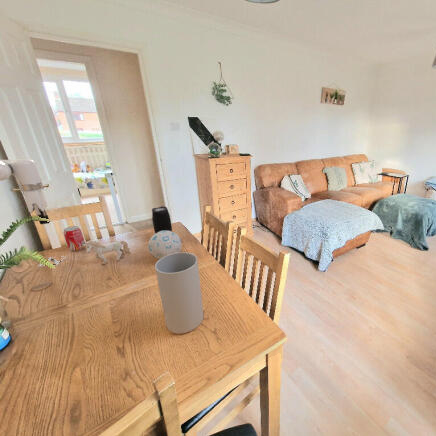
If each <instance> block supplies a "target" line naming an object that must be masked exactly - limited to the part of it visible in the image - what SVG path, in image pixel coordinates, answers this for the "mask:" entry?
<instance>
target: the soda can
mask: <svg viewBox="0 0 436 436" xmlns="http://www.w3.org/2000/svg"><path fill="white" fill-rule="evenodd" d="M62 233H63V237H64V240H65V243H66V247H67V248H68V250H69V251H71V252H78V251H81V250H84V248H79V247H83V246H84V245H82V244H85V243H86V241H85V238H84V235H83V231H82V229H80V227H79V226H77V225H74V226H72V225H71V226H68V227H65V228H64V229H63V232H62Z"/></svg>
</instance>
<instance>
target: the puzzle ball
mask: <svg viewBox="0 0 436 436" xmlns="http://www.w3.org/2000/svg"><path fill="white" fill-rule="evenodd" d="M182 243H183V242H182V239H181V237H180V236H179V235H178V234H177V233H176V232H175V231H173V230H172V231H160V232H158V233H155V232H154V234H153V235H152V236H151V237H150V238H149V241H148V244H147V249H148V253H149V254H150V255H151V256H152V257H153V258H154V259H157V260H160V259H161V258H163V257H165V256H167V255H170V254H173V253H180V252H181V250H182V245H183V244H182Z"/></svg>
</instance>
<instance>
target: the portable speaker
mask: <svg viewBox="0 0 436 436" xmlns="http://www.w3.org/2000/svg"><path fill="white" fill-rule="evenodd" d="M151 213H152V214H151V221H152V225H153V230H154V231H153V232H154V234H155V233H158V232H160V231H172V232H173V227H172V220H171V219H172V218H171V215H170V212H169V209H168V207H167V206H159V207H153V208H152V209H151Z"/></svg>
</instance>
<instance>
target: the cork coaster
mask: <svg viewBox="0 0 436 436" xmlns="http://www.w3.org/2000/svg"><path fill="white" fill-rule="evenodd" d="M51 285H52V281H49V280H46V281H41V282H38V283H36V284H34V285H32V286H31V287H30V290H31V292H38V291H39V292H40V291H43V290H45V289H48V288H49V287H50V286H51Z"/></svg>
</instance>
